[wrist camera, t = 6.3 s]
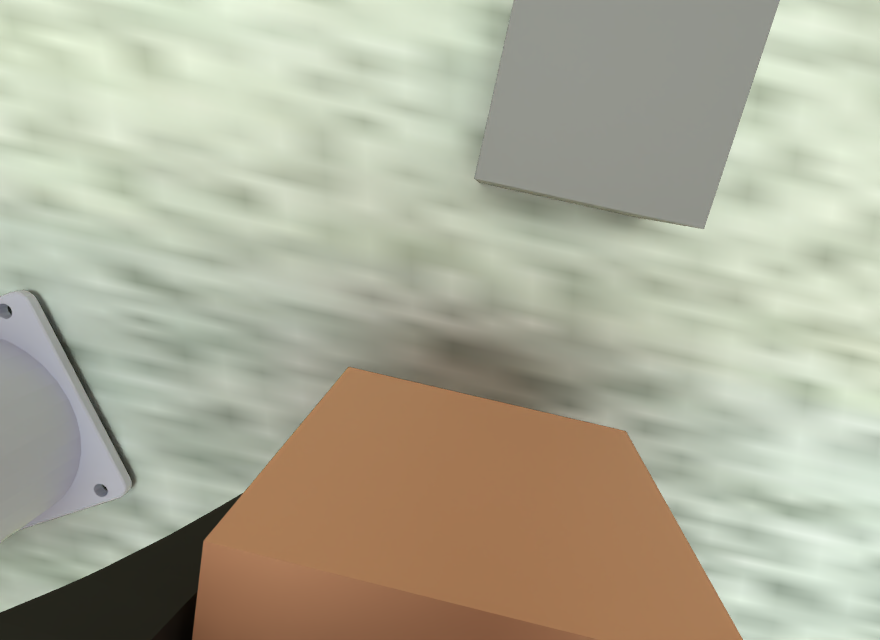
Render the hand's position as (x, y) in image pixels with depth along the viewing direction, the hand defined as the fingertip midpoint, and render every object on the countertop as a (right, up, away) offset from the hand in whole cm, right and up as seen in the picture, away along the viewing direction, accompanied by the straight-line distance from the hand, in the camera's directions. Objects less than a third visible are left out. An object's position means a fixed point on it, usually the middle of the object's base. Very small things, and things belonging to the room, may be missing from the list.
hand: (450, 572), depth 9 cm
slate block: (+4, +10, +7) cm, 13 cm away
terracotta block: (0, 0, +1) cm, 1 cm away
